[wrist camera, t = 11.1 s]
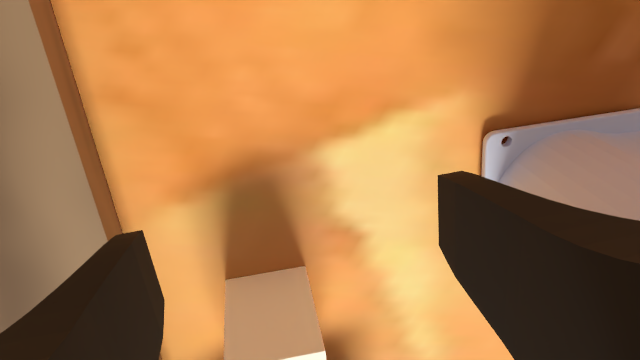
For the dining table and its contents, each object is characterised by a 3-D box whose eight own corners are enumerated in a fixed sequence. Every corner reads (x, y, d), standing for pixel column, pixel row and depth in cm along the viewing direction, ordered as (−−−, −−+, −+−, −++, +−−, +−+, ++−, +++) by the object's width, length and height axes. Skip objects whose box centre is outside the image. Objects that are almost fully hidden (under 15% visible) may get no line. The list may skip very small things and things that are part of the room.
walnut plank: (7, -135, 17) (-20, -146, 15) (194, 462, 29) (191, 495, 28) (-257, -111, 16) (-319, -120, 14) (52, 492, 29) (40, 528, 27)
